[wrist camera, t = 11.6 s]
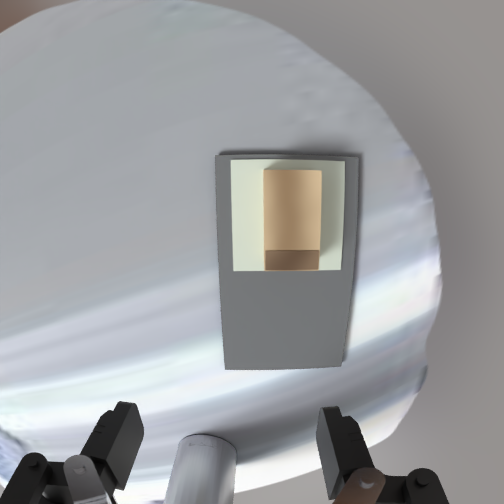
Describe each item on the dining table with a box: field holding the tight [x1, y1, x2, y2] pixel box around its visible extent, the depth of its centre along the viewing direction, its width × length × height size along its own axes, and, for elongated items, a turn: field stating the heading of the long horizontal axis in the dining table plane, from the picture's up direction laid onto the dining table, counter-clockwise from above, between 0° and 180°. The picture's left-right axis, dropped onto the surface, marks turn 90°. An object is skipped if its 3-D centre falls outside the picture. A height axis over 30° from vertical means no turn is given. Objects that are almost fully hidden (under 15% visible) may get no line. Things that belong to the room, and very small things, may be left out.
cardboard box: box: [263, 170, 322, 271], centre depth 28 cm, size 5×9×3 cm, turn 1°
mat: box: [215, 154, 359, 370], centre depth 31 cm, size 24×14×1 cm, turn 1°
